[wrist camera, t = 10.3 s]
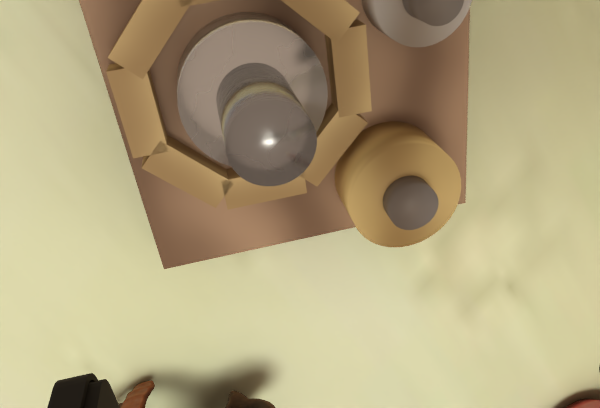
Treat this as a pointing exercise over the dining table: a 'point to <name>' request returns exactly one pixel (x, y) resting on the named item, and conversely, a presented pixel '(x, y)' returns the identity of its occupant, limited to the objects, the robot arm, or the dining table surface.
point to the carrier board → (330, 136)
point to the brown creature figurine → (136, 400)
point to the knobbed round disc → (252, 96)
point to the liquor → (585, 404)
